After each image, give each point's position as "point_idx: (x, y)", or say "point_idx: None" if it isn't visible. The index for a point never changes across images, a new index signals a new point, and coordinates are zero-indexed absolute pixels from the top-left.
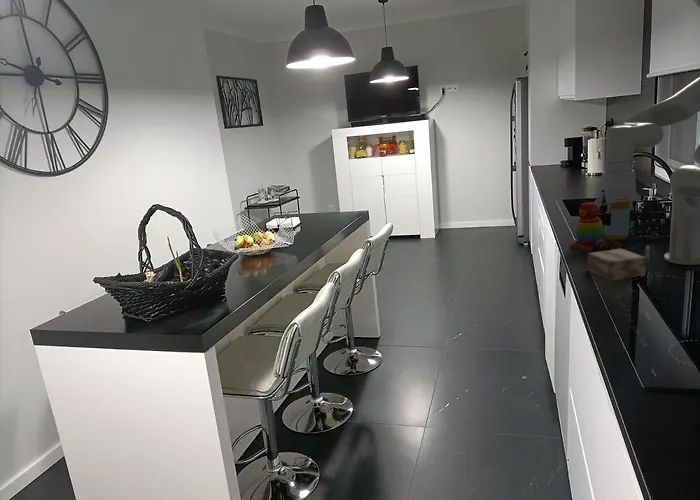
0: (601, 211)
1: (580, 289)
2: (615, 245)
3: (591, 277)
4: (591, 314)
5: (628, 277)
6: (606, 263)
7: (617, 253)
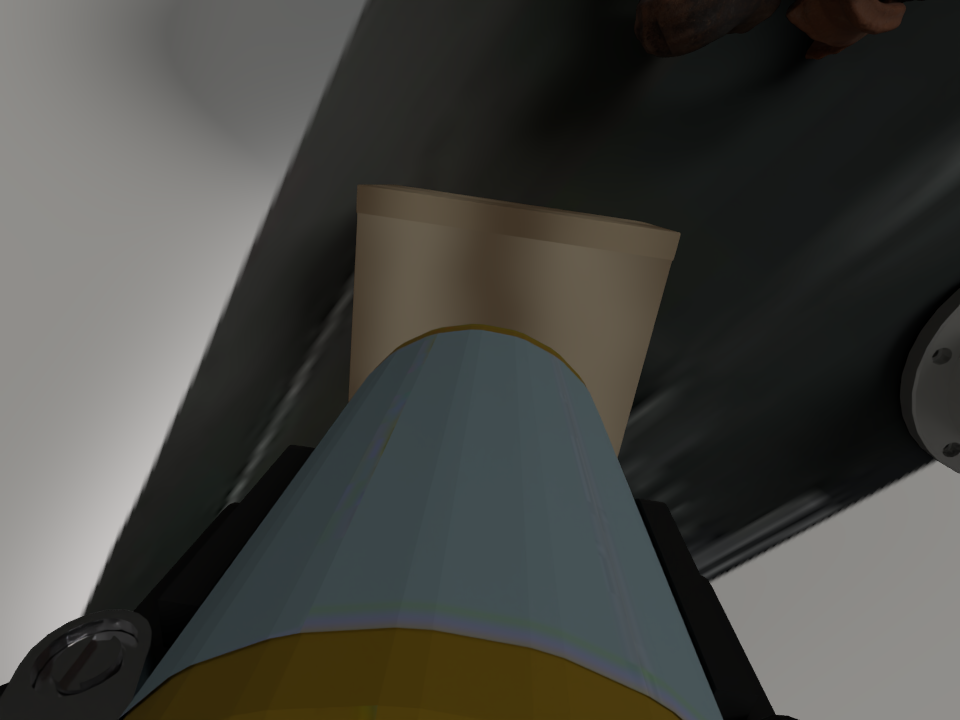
0: (65, 633)
1: (183, 417)
2: (825, 18)
3: (334, 308)
4: None
5: None
6: None
7: (537, 331)
